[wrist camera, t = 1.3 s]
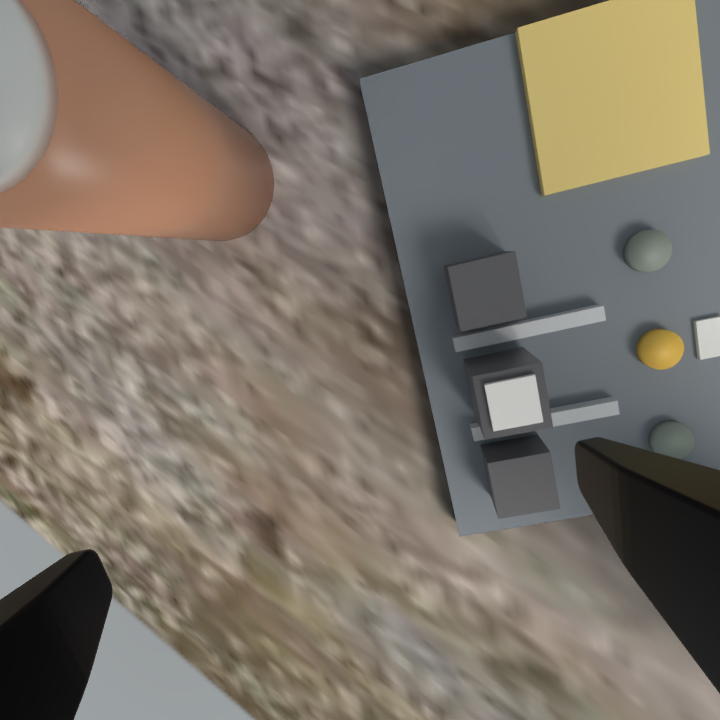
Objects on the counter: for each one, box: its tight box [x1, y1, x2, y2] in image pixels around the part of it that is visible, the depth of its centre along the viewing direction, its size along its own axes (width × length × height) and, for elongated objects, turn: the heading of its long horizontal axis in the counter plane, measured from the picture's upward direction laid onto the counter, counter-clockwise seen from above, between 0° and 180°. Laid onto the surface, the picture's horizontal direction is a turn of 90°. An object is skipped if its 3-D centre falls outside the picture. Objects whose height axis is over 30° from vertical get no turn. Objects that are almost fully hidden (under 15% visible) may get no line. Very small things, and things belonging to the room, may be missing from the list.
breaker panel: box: [359, 0, 720, 536], centre depth 20 cm, size 20×14×3 cm
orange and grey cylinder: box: [0, 0, 274, 241], centre depth 15 cm, size 5×5×14 cm
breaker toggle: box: [463, 347, 553, 440], centre depth 19 cm, size 2×2×3 cm
